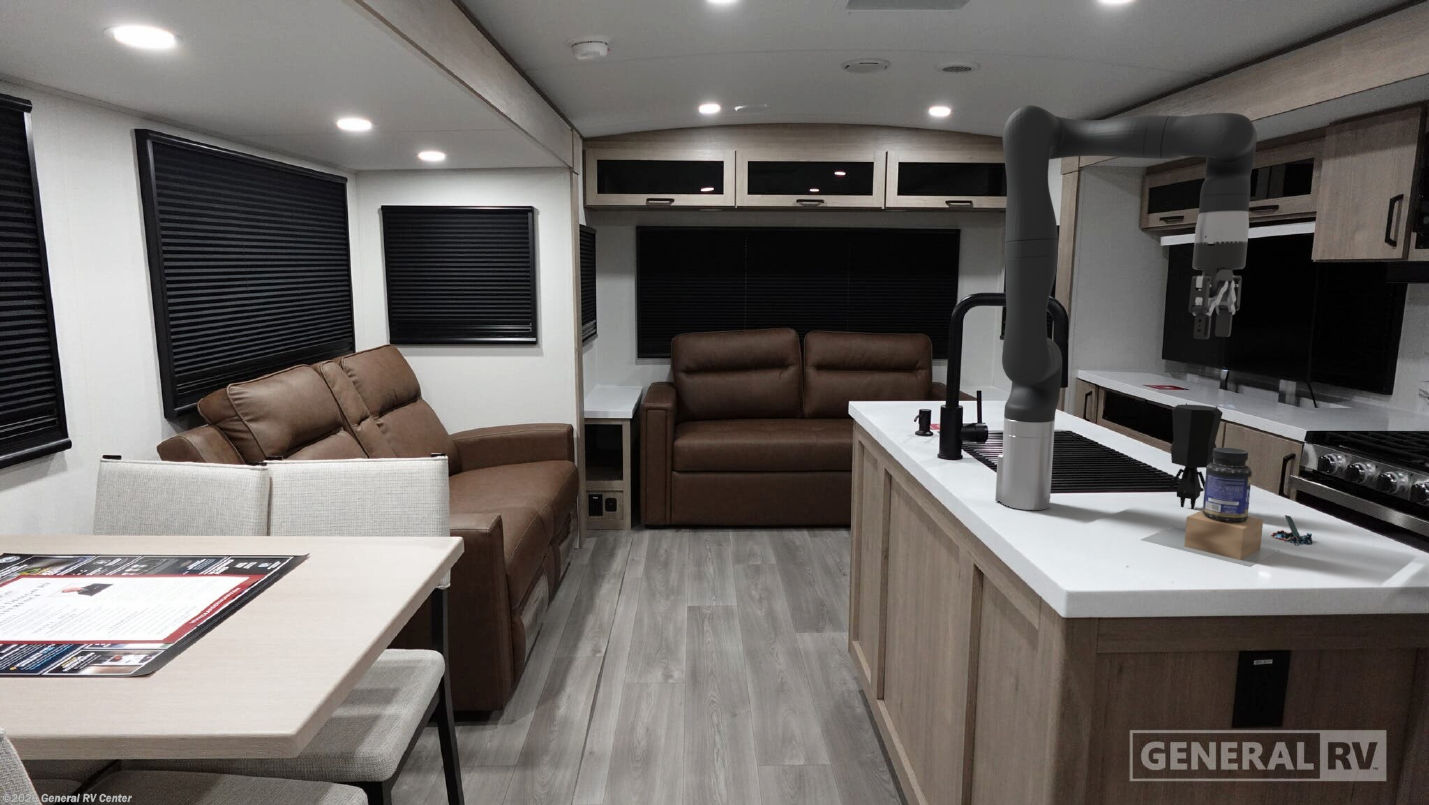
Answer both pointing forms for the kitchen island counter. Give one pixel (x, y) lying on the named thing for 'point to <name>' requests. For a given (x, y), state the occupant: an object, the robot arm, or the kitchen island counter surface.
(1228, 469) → the pill bottle
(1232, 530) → the wooden block
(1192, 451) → the toy
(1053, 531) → the kitchen island counter surface
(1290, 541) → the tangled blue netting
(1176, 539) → the build plate
